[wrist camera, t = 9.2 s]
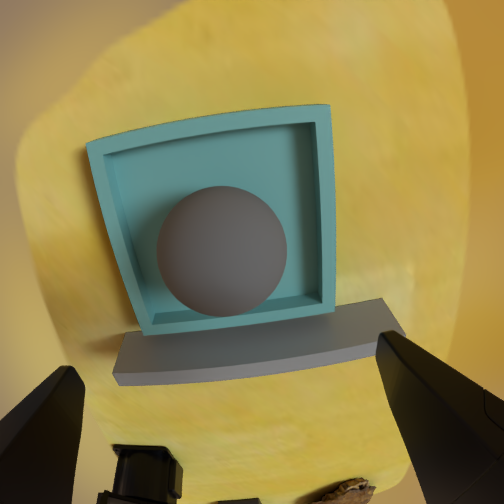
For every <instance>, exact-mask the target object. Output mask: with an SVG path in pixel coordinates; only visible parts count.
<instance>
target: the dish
mask: <svg viewBox="0 0 504 504" xmlns="http://www.w3.org/2000/svg"><path fill="white" fill-rule="evenodd" d="M86 148H87V153H88V157H89V162H90V166H91V171H92V175H93V179H94V183H95V187H96V191H97V195H98V199H99V203H100V207H101V210H102V214H103V218H104V221H105V225H106V228H107V232H108V235H109V238H110V242H111V245H112V248H113V251H114V254H115V258H116V261H117V264H118V267H119V270H120V273H121V276H122V279H123V282H124V285H125V287H126V290H127V293H128V296H129V299H130V301H131V304H132V307H133V309H134V312H135V315H136V317H137V320H138V323H139V325H140V328H141V330H142V333H143V335H144V336H146V335H158V334H170V333H180V332H191V331H200V330H210V329H218V328H227V327H235V326H243V325H251V324H258V323H266V322H273V321H280V320H286V319H293V318H300V317H306V316H312V315H318V314H324V313H330V312H335V290H336V204H335V174H334V154H333V137H332V123H331V110H330V105H327V104H311V105H295V106H282V107H271V108H261V109H252V110H243V111H236V112H228V113H221V114H214V115H208V116H201V117H195V118H189V119H184V120H178V121H173V122H168V123H163V124H158V125H153V126H149V127H144V128H140V129H135V130H131V131H127V132H123V133H118V134H115V135H111V136H107V137H103V138H99V139H96V140H93V141H91V142H88V143H86ZM212 186H231V187H236V188H240V189H243V190H246V191H248V192H250V193H252V194H254V195H256V196H257V197H259V198H260V199H262V200H263V201H264V202H265V203H266V204H268V206H269V207H270V208H271V209H272V210H273V211H274V213H275V214H276V216H277V217H278V219H279V221H280V223H281V225H282V227H283V230H284V233H285V237H286V243H287V260H286V266H285V269H284V273H283V276H282V278H281V280H280V282H279V284H278V286H277V287H276V289H275V290H274V291H273V292H272V294H271V295H270V296H269V297H268V298H267V299H266V300H265V301H264V302H263V303H261V304H260V305H259V306H257V307H255V308H253V309H252V310H250V311H248V312H245V313H243V314H239V315H235V316H229V317H215V316H208V315H204V314H201V313H198V312H196V311H194V310H192V309H190V308H188V307H187V306H185V305H184V304H182V303H181V302H180V301H179V300H177V299H176V298H175V297H174V295H173V294H172V293H171V292H170V291H169V289H168V288H167V286H166V285H165V283H164V281H163V279H162V276H161V274H160V271H159V268H158V263H157V251H156V248H157V240H158V236H159V232H160V229H161V226H162V224H163V222H164V220H165V218H166V217H167V215H168V214H169V212H170V211H171V210H172V208H173V207H174V206H175V205H176V204H177V203H178V202H179V201H181V200H182V199H183V198H185V197H186V196H188V195H190V194H192V193H193V192H195V191H198V190H201V189H203V188H208V187H212Z"/></svg>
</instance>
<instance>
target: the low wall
mask: <svg viewBox="0 0 504 504" xmlns="http://www.w3.org/2000/svg"><path fill="white" fill-rule="evenodd" d="M388 330H395V331H396V332H398V333H399V334H401V335H403V336H404V337H405V336H406V334H405V332H404V331H403V329H402V328H401V326H400V324H399V323H398V321H397V320H396V318H395V317H394V315H393V314H392V312H391V311H390V309H389V308H388V306H387V305H386V303H385V302H384V300H383V299H382V298H380V299H375V300H370V301H365V302H359V303H354V304H348V305H343V306H337V307H335V312H330V313H324V314H318V315H312V316H306V317H300V318H293V319H286V320H280V321H273V322H266V323H258V324H251V325H243V326H235V327H227V328H218V329H210V330H200V331H191V332H180V333H170V334H158V335H146V336H144V335H143V333H142V331H138V332H126V334H125V337H124V339H123V342H122V345H121V348H120V351H119V354H118V357H117V360H116V363H115V366H114V369H113V372H112V374H113V376H114V378H115V380H116V381H117V383H118V385H119V386H145V385H169V384H186V383H200V382H212V381H222V380H232V379H241V378H250V377H258V376H265V375H272V374H279V373H286V372H292V371H299V370H305V369H310V368H316V367H321V366H327V365H332V364H337V363H342V362H347V361H352V360H356V359H361V358H365V357H370V356H374V355H375V353H376V347H377V341H378V336H379V334H380V333H381V332H384V331H388Z"/></svg>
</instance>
